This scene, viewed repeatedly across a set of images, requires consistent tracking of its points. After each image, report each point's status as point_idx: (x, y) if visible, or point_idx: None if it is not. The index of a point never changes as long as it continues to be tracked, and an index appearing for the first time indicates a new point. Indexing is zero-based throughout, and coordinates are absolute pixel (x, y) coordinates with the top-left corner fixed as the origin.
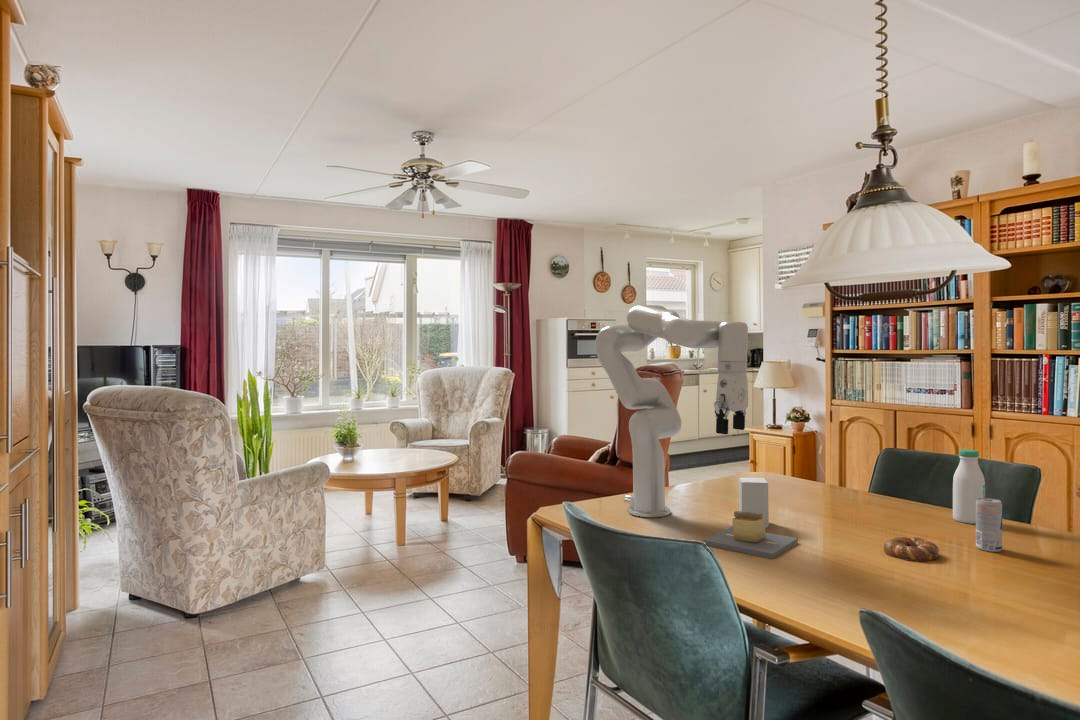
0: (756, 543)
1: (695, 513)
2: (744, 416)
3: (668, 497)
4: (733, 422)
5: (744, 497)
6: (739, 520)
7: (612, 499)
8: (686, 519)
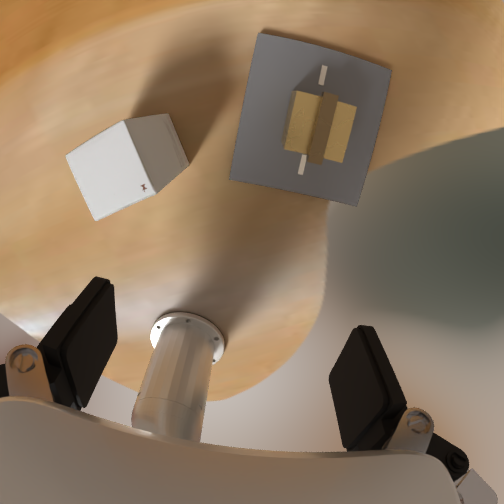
0: None
1: (142, 275)
2: (54, 341)
3: None
4: (103, 367)
5: (168, 174)
6: (346, 144)
7: None
8: (192, 278)
